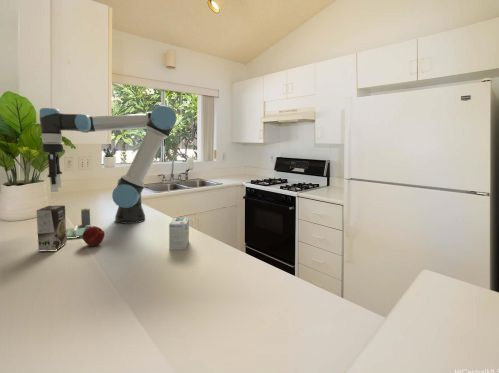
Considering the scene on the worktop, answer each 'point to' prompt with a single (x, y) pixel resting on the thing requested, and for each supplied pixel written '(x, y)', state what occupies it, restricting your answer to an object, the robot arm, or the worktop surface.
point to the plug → (85, 216)
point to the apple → (93, 236)
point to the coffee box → (51, 227)
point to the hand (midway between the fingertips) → (56, 189)
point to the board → (76, 231)
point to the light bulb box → (178, 234)
